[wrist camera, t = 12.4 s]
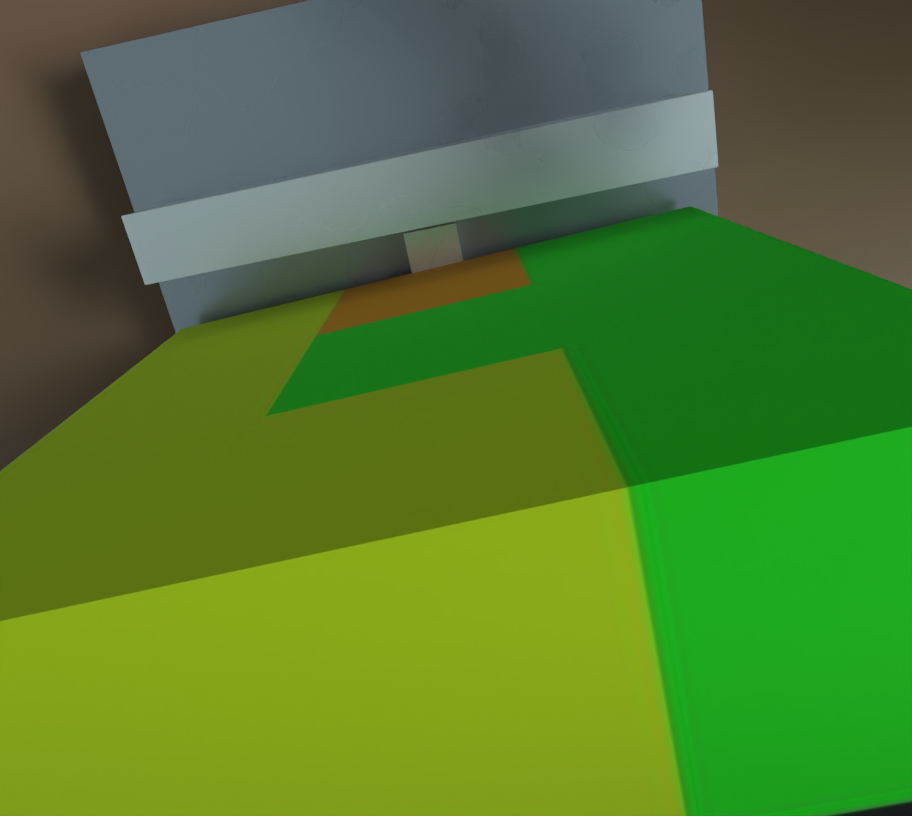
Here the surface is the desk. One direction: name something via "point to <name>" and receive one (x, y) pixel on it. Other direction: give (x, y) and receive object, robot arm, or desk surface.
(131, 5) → the desk surface
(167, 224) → the rail plate
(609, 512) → the puzzle toy
